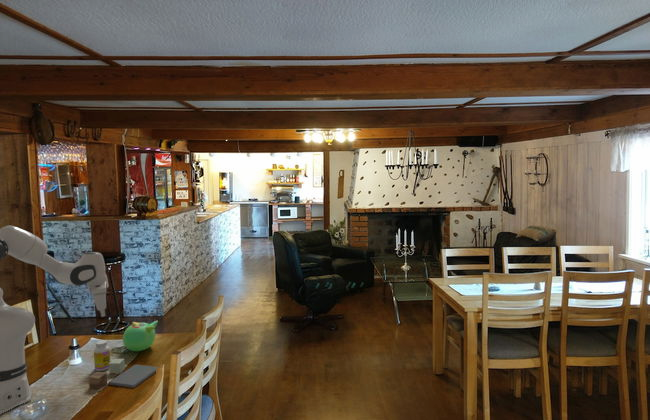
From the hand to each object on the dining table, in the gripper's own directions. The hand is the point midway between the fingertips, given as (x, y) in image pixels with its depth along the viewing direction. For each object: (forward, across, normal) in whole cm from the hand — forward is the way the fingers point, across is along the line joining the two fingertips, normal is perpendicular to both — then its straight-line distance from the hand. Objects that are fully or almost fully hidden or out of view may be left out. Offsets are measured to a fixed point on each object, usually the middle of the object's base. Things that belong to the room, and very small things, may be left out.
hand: (102, 312), depth 211 cm
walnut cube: (+25, +21, -6) cm, 33 cm away
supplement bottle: (+26, +2, -4) cm, 27 cm away
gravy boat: (+29, -13, +14) cm, 35 cm away
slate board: (+27, +20, +8) cm, 34 cm away
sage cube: (+27, +9, +2) cm, 28 cm away
